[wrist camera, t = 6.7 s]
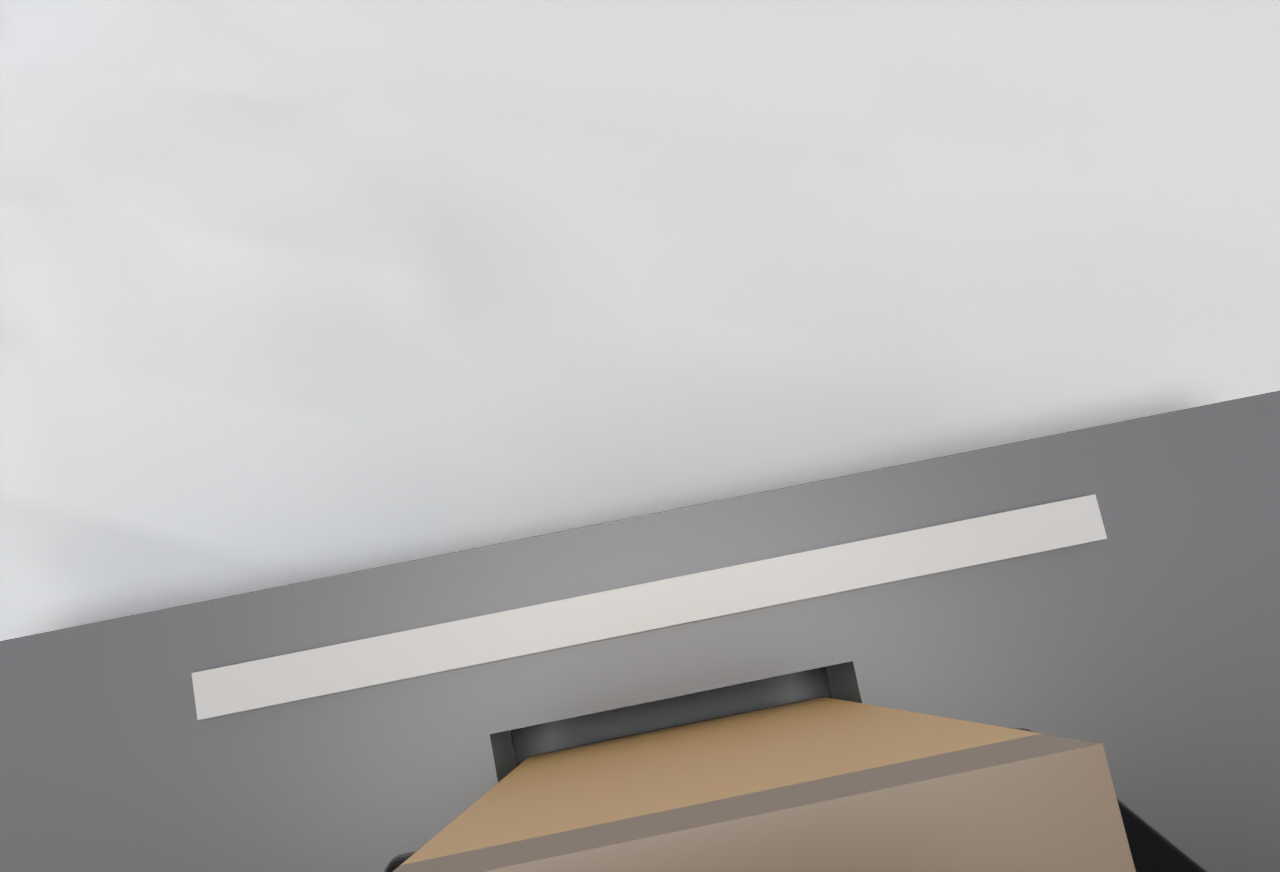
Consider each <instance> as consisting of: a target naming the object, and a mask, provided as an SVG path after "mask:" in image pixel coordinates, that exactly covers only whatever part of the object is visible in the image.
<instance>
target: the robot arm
mask: <svg viewBox="0 0 1280 872" xmlns="http://www.w3.org/2000/svg"><path fill="white" fill-rule="evenodd" d="M1013 729H1018V730H1024V731H1030V732H1033V731H1031V730H1029V729H1026V728H1013ZM1117 801H1118V805H1119V809H1120V813H1121V817H1122V821H1123V824H1124V828H1125V832H1126V836H1127V840H1128V844H1129V847H1130V851H1131V855H1132V859H1133V863H1134V867H1135V871H1136V872H1209V871H1208V870H1206V869H1205V868H1204V867H1203V866H1201V865H1200V864H1199V863H1198V862H1196V861H1195V860H1194V859H1193V858H1191V857H1190V856H1189V855H1188V854H1186V853H1185V852H1184V851H1183V850H1181V849H1180V848H1179V847H1178V846H1176V845H1175V844H1174V843H1173V842H1171V841H1170V840H1169V839H1168V838H1166V837H1165V836H1164V835H1163V834H1161V833H1160V832H1159V831H1158V830H1156V829H1155V828H1154V827H1153V826H1151V825H1150V824H1149V823H1148V822H1146V821H1145V820H1144V819H1143V818H1141V817H1140V816H1139V815H1138V814H1136V813H1135V812H1134V811H1133V810H1131V809H1130V808H1129V807H1128V806H1126V805H1125V804H1124V803H1123V802H1121V801H1120V800H1119V799H1118V798H1117ZM415 852H417V851H413V852H408V853H403V854H400V855H397V856H395V857H394V858H393V859H392V860H391V861H390V862H389V863H388V865H387V867H386V869H385V871H384V872H393V871H394V870H395V869H396V868H398V867H399V866H400V865H401V864H402V863H403V862H405V861H406V860H407V859H408V858H409V857H411V856H412V855H413V854H414V853H415Z"/></svg>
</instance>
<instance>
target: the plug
mask: <svg viewBox="0 0 1280 872" xmlns="http://www.w3.org/2000/svg"><path fill="white" fill-rule="evenodd" d="M393 872H1136V871H1135V867H1134V863H1133V859H1132V855H1131V851H1130V847H1129V844H1128V840H1127V836H1126V832H1125V828H1124V824H1123V821H1122V817H1121V813H1120V809H1119V805H1118V801H1117V797H1116V794H1115V790H1114V786H1113V782H1112V778H1111V774H1110V771H1109V767H1108V763H1107V759H1106V755H1105V751H1104V747H1103V744H1101V743H1095V742H1089V741H1083V740H1077V739H1071V738H1065V737H1060V736H1054V735H1048V734H1042V733H1036V732H1030V731H1024V730H1018V729H1012V728H1006V727H1000V726H994V725H988V724H982V723H976V722H970V721H964V720H958V719H952V718H946V717H940V716H934V715H928V714H922V713H916V712H911V711H905V710H899V709H893V708H887V707H881V706H875V705H869V704H863V703H857V702H851V701H845V700H839V699H833V698H827V697H819V698H814V699H809V700H804V701H799V702H795V703H790V704H785V705H780V706H775V707H770V708H765V709H760V710H755V711H750V712H745V713H740V714H735V715H730V716H725V717H721V718H716V719H711V720H706V721H701V722H696V723H691V724H686V725H681V726H676V727H671V728H666V729H661V730H656V731H652V732H647V733H642V734H637V735H632V736H627V737H622V738H617V739H612V740H607V741H602V742H597V743H592V744H587V745H582V746H578V747H573V748H568V749H563V750H558V751H553V752H548V753H543V754H538V755H533V756H529V757H528V758H527V759H526V760H525V761H523V762H522V763H521V764H520V765H519V766H518V767H516V768H515V769H514V770H513V771H512V772H510V773H509V774H508V775H507V776H506V777H504V778H503V779H502V780H501V781H500V782H499V783H497V784H496V785H495V786H494V787H493V788H491V789H490V790H489V791H488V792H487V793H485V794H484V795H483V796H482V797H481V798H480V799H478V800H477V801H476V802H475V803H474V804H472V805H471V806H470V807H469V808H468V809H466V810H465V811H464V812H463V813H462V814H461V815H459V816H458V817H457V818H456V819H455V820H453V821H452V822H451V823H450V824H449V825H447V826H446V827H445V828H444V829H443V830H441V831H440V832H439V833H438V834H437V835H436V836H434V837H433V838H432V839H431V840H430V841H428V842H427V843H426V844H425V845H424V846H422V847H421V848H420V849H419V850H418V851H417V852H415V853H414V854H413V855H412V856H411V857H409V858H408V859H407V860H406V861H405V862H403V863H402V864H401V865H400V866H399V867H398V868H396V869H395V870H394V871H393Z"/></svg>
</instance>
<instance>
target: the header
mask: <svg viewBox="0 0 1280 872" xmlns="http://www.w3.org/2000/svg"><path fill="white" fill-rule="evenodd" d="M821 667H825V669H826V674H827V678H828V683H829V687H830V692H831V696H832V698H833V699H839V700H845V701H851V702H857V703H863V704H869V705H875V706H881V707H887V708H893V709H899V710H905V711H911V712H916V713H922V714H928V715H934V716H940V717H946V718H952V719H958V720H964V721H970V722H976V723H982V724H988V725H994V726H1000V727H1006V728H1012V729H1013V728H1026V729H1029V730H1031V731H1033V732H1036V733H1042V734H1048V735H1054V736H1060V737H1065V738H1071V739H1077V740H1083V741H1089V742H1095V743H1101V744H1103V747H1104V751H1105V755H1106V759H1107V763H1108V767H1109V771H1110V774H1111V778H1112V782H1113V786H1114V790H1115V794H1116V797H1117V798H1118V799H1119V800H1120V801H1121V802H1123V803H1124V804H1125V805H1126V806H1128V807H1129V808H1130V809H1131V810H1133V811H1134V812H1135V813H1136V814H1138V815H1139V816H1140V817H1141V818H1143V819H1144V820H1145V821H1146V822H1148V823H1149V824H1150V825H1151V826H1153V827H1154V828H1155V829H1156V830H1158V831H1159V832H1160V833H1161V834H1163V835H1164V836H1165V837H1166V838H1168V839H1169V840H1170V841H1171V842H1173V843H1174V844H1175V845H1176V846H1178V847H1179V848H1180V849H1181V850H1183V851H1184V852H1185V853H1186V854H1188V855H1189V856H1190V857H1191V858H1193V859H1194V860H1195V861H1196V862H1198V863H1199V864H1200V865H1201V866H1203V867H1204V868H1205V869H1206V870H1208V871H1209V872H1280V391H1276V392H1271V393H1266V394H1261V395H1256V396H1251V397H1245V398H1240V399H1235V400H1230V401H1225V402H1220V403H1215V404H1210V405H1205V406H1200V407H1194V408H1189V409H1184V410H1179V411H1174V412H1169V413H1164V414H1159V415H1154V416H1148V417H1143V418H1138V419H1133V420H1128V421H1123V422H1118V423H1113V424H1108V425H1103V426H1097V427H1092V428H1087V429H1082V430H1077V431H1072V432H1067V433H1062V434H1057V435H1051V436H1046V437H1041V438H1036V439H1031V440H1026V441H1021V442H1016V443H1011V444H1005V445H1000V446H995V447H990V448H985V449H980V450H975V451H970V452H965V453H960V454H954V455H949V456H944V457H939V458H934V459H929V460H924V461H919V462H914V463H908V464H903V465H898V466H893V467H888V468H883V469H878V470H873V471H868V472H862V473H857V474H852V475H847V476H842V477H837V478H832V479H827V480H822V481H817V482H811V483H806V484H801V485H796V486H791V487H786V488H781V489H776V490H771V491H765V492H760V493H755V494H750V495H745V496H740V497H735V498H730V499H725V500H720V501H714V502H709V503H704V504H699V505H694V506H689V507H684V508H679V509H674V510H668V511H663V512H658V513H653V514H648V515H643V516H638V517H633V518H628V519H622V520H617V521H612V522H607V523H602V524H597V525H592V526H587V527H582V528H577V529H571V530H566V531H561V532H556V533H551V534H546V535H541V536H536V537H531V538H525V539H520V540H515V541H510V542H505V543H500V544H495V545H490V546H485V547H480V548H474V549H469V550H464V551H459V552H454V553H449V554H444V555H439V556H434V557H428V558H423V559H418V560H413V561H408V562H403V563H398V564H393V565H388V566H382V567H377V568H372V569H367V570H362V571H357V572H352V573H347V574H342V575H337V576H331V577H326V578H321V579H316V580H311V581H306V582H301V583H296V584H291V585H285V586H280V587H275V588H270V589H265V590H260V591H255V592H250V593H245V594H240V595H234V596H229V597H224V598H219V599H214V600H209V601H204V602H199V603H194V604H188V605H183V606H178V607H173V608H168V609H163V610H158V611H153V612H148V613H142V614H137V615H132V616H127V617H122V618H117V619H112V620H107V621H102V622H97V623H91V624H86V625H81V626H76V627H71V628H66V629H61V630H56V631H51V632H45V633H40V634H35V635H30V636H25V637H20V638H15V639H10V640H5V641H0V872H384V871H385V869H386V867H387V865H388V863H389V862H390V861H391V860H392V859H393V858H394V857H395V856H397V855H400V854H403V853H408V852H413V851H418V850H419V849H420V848H421V847H422V846H424V845H425V844H426V843H427V842H428V841H430V840H431V839H432V838H433V837H434V836H436V835H437V834H438V833H439V832H440V831H441V830H443V829H444V828H445V827H446V826H447V825H449V824H450V823H451V822H452V821H453V820H455V819H456V818H457V817H458V816H459V815H461V814H462V813H463V812H464V811H465V810H466V809H468V808H469V807H470V806H471V805H472V804H474V803H475V802H476V801H477V800H478V799H480V798H481V797H482V796H483V795H484V794H485V793H487V792H488V791H489V790H490V789H491V788H493V787H494V786H495V785H496V784H497V783H499V782H500V781H501V780H502V779H503V778H504V777H506V776H507V775H508V774H509V773H510V772H512V771H513V770H514V769H515V768H516V767H517V764H516V758H515V752H514V747H513V741H512V735H511V730H514V729H519V728H524V727H529V726H533V725H538V724H543V723H548V722H553V721H558V720H563V719H568V718H573V717H578V716H583V715H588V714H593V713H598V712H603V711H608V710H613V709H618V708H623V707H628V706H633V705H638V704H642V703H647V702H652V701H657V700H662V699H667V698H672V697H677V696H682V695H687V694H692V693H697V692H702V691H707V690H712V689H717V688H722V687H727V686H732V685H737V684H742V683H747V682H751V681H756V680H761V679H766V678H771V677H776V676H781V675H786V674H791V673H796V672H801V671H806V670H811V669H816V668H821Z"/></svg>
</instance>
